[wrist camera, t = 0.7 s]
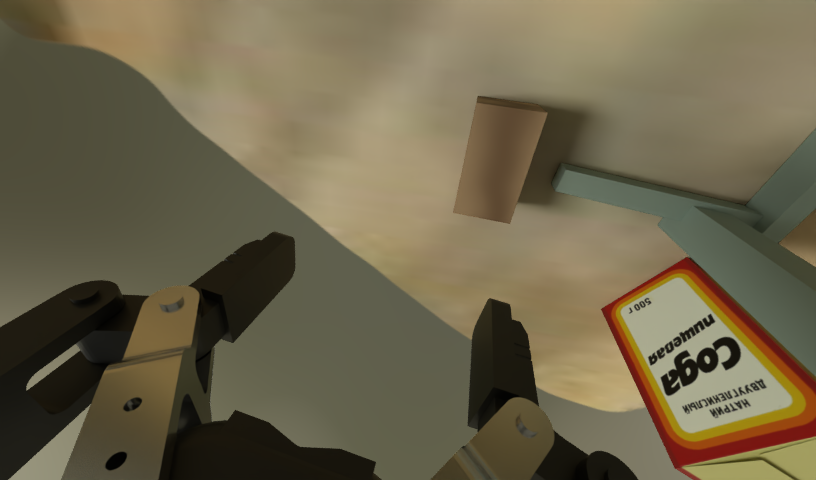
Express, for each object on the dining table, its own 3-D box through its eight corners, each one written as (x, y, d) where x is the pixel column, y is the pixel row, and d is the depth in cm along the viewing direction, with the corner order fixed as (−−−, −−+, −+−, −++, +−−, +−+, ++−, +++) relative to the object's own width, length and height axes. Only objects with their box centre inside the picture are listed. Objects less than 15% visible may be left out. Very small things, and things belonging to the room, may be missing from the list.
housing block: (457, 191, 30) (453, 212, 26) (477, 95, 25) (476, 102, 21) (506, 200, 29) (509, 223, 25) (537, 104, 24) (547, 112, 20)
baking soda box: (686, 257, 28) (868, 434, 15) (734, 292, 29) (948, 491, 15) (601, 309, 33) (677, 474, 20) (643, 337, 34) (744, 515, 21)
